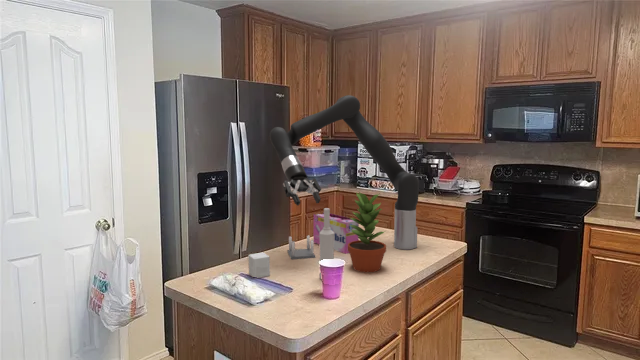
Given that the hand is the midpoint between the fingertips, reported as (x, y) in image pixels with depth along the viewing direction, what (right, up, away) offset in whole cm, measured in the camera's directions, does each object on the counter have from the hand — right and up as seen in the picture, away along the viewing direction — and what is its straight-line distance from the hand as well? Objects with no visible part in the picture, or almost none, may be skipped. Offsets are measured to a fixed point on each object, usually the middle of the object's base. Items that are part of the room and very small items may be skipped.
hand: (308, 203), depth 155 cm
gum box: (+11, -22, +33) cm, 41 cm away
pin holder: (-4, -23, +20) cm, 31 cm away
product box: (-18, -26, -3) cm, 32 cm away
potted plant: (+22, -25, +5) cm, 33 cm away
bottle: (+6, -26, -7) cm, 28 cm away
